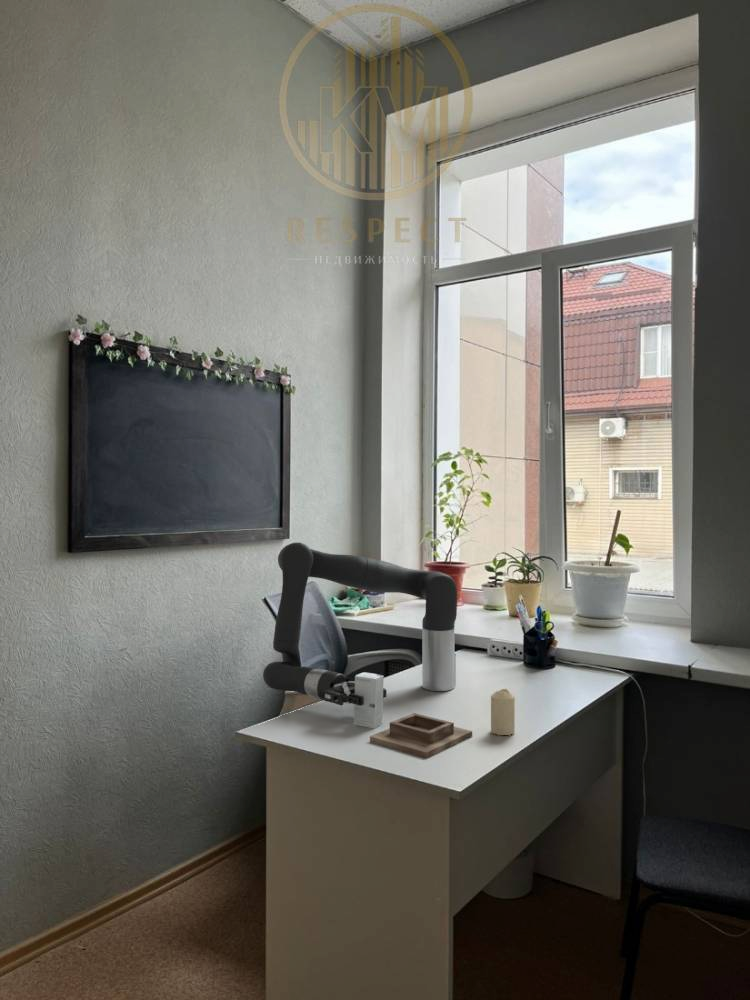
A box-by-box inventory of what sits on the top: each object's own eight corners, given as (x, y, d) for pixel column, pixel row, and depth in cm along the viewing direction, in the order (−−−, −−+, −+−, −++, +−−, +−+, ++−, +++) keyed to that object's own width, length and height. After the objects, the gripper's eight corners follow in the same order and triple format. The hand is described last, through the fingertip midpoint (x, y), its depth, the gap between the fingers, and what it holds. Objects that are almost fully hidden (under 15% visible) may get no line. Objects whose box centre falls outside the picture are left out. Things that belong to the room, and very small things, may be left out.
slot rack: (417, 722, 181) (417, 707, 181) (472, 736, 171) (472, 720, 171) (369, 741, 168) (369, 725, 168) (426, 758, 157) (426, 740, 157)
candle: (498, 726, 178) (498, 685, 178) (518, 731, 174) (518, 689, 174) (486, 732, 174) (486, 690, 173) (507, 737, 170) (507, 694, 170)
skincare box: (353, 725, 179) (353, 675, 179) (362, 719, 183) (362, 671, 183) (375, 729, 176) (375, 678, 176) (384, 723, 180) (384, 674, 180)
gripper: (306, 676, 183) (355, 688, 173) (344, 665, 194) (392, 676, 184) (306, 706, 183) (355, 719, 173) (344, 694, 194) (392, 705, 184)
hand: (374, 697), depth 178 cm, fingers open, 8 cm apart
